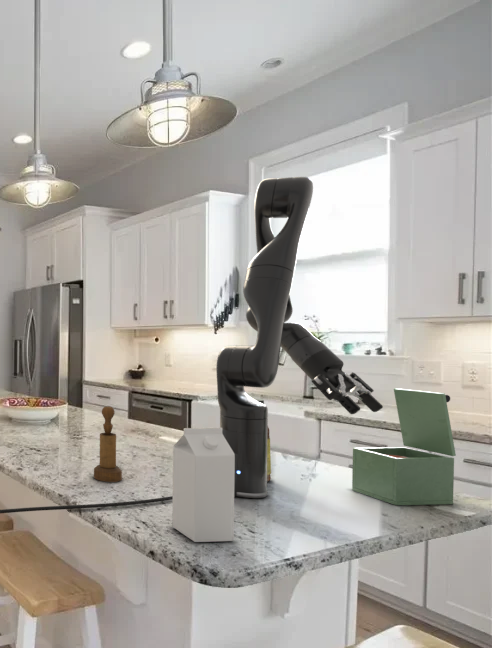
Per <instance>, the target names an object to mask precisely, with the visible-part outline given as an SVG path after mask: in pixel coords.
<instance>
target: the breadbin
mask: <svg viewBox="0 0 492 648" xmlns="http://www.w3.org/2000/svg"><path fill="white" fill-rule="evenodd" d="M383 454H384V455H383ZM387 455H396V456H403V457H408V458H396V457H392V456H387ZM351 472H352V475H351V476H352V477H351V479H352V480H351V483H352V484H351V490H352V491H354V492H357V493H360V494H363V495H365V496H367V497H371V498H373V499H376V500H379V501H382V502H385V503H389V504H391V505H393V506H432V505H435V506H437V505H439V506H440V505H453V504H454V484H455V483H454V482H455V481H454V479H455V457H453V456H449V455H444V454H440V453H435V452H430V451H426V450H421V449H417V448H412V447H408V446H390V447H389V446H386V447H385V446H382V447H381V446H380V447H379V446H378V447H352V471H351Z"/></svg>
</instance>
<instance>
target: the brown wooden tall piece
mask: <svg viewBox="0 0 492 648" xmlns="http://www.w3.org/2000/svg"><path fill="white" fill-rule="evenodd" d="M101 415H102V417H103V419H104V423H103V424H102V426H103V432H100V433H99V464H98V465H96V466H95V467H93V478H94V479H95V480H97V481H101V482H105V483H106V482H107V483H116V482H121V481H123V470H122V469H121V468H120V466H118V465H117V433H115V432H112V431H113V426H114V425H113V424H112V419H113V417H114V416H115V409H114V407H112V406H109V405H107V406H104V407H103V408H102V409H101Z"/></svg>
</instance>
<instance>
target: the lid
mask: <svg viewBox="0 0 492 648" xmlns="http://www.w3.org/2000/svg"><path fill="white" fill-rule="evenodd" d="M393 393H394V398H395V404H396V405H395V406H396V410H397V417H398V422H399V427H400V433H401V438H402V443H403V447H407V448H412V449H416V450H421V451H425V452H430V453H435V454H439V455H444V456H448V457H457V456H456V449H455V443H454V436H453V432H452V426H451V420H450V415H449V407H448V403H449V402H450V401H451V396H450V395H448V394H446V393H445V392H435V391H428V390H427V391H426V390H418V389H406V388H398V387H397V388H393Z"/></svg>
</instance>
